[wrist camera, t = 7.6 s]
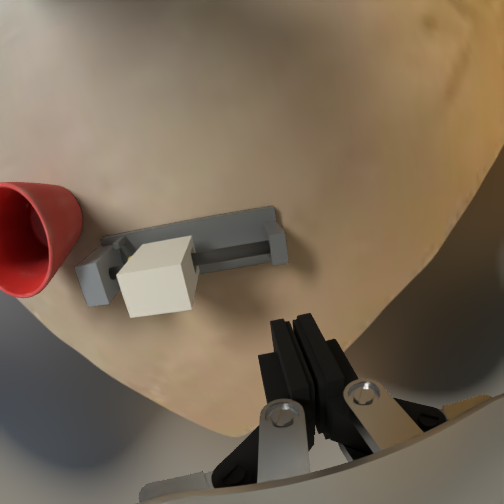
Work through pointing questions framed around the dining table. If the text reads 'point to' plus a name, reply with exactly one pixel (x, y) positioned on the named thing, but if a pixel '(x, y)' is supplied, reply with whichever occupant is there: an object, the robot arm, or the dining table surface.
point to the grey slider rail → (206, 257)
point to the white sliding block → (160, 278)
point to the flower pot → (35, 234)
